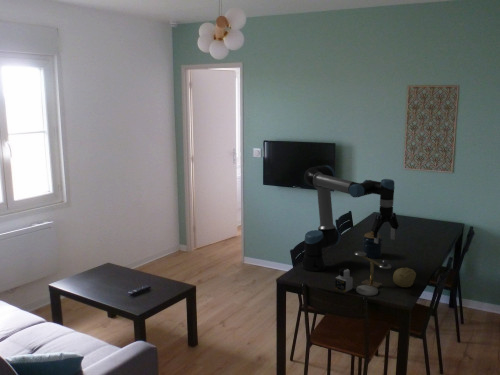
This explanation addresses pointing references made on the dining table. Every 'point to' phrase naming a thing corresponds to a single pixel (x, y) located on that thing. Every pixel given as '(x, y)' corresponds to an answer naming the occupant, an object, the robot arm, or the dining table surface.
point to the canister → (372, 246)
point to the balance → (372, 269)
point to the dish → (367, 290)
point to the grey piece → (344, 280)
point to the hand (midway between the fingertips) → (384, 241)
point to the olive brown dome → (404, 277)
